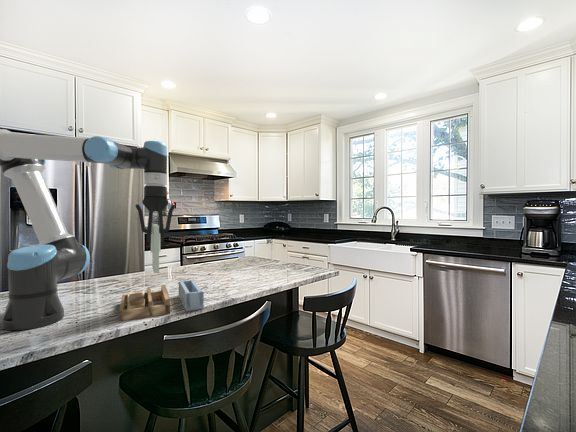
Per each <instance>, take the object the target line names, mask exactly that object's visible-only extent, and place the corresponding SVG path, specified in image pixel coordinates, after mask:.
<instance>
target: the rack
mask: <svg viewBox="0 0 576 432" xmlns="http://www.w3.org/2000/svg"><path fill="white" fill-rule="evenodd" d="M128 295H129V293H128V294H122V295H121V299H120V303H119V305H120V306H119V311H118V314H119V317H118V318H119V319H118V320H119V321H120V322H121V321H127V320H135V319H141V318H149V317H155V316H163V315H168V314H169V315H170V314H171V297H170V295H169V292H168V288H167V287H166V285H161V286H160V290H156V291H151V286H147V287H146V291H145V302H147V306H145V307H141V308H134V309H127V308H125V307H126V304H127V296H128ZM156 300H161V302H162V304H157V305H153V301H156Z"/></svg>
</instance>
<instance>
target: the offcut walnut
mask: <svg viewBox="0 0 576 432" xmlns="http://www.w3.org/2000/svg"><path fill="white" fill-rule="evenodd" d="M128 294H129V293H128ZM129 302H130V305H131V306H132V305H138V304H144V295H143V293H135V294H129Z"/></svg>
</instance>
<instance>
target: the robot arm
mask: <svg viewBox="0 0 576 432" xmlns="http://www.w3.org/2000/svg"><path fill="white" fill-rule="evenodd" d="M167 150H168V148H167V144H165V143H164V142H163V141H158V140H146V141H144V142H143V147H133V146H132V147H131V146H126V145H124V144H122V143H121V144H120V143H119V142H117V141H113V140H111V139H109V138H107V137H103V136H98V135H97V136H92V137H78V136H77V137H76V136H59V135H48V134H47V135H46V134H34V133H33V134H31V133H30V134H29V133H15V132H11V130H8V129H5V128H0V170H1V171H2V174H3V176H4V177H6V178H9V179H11V180H12V183H13V185H14V187H15V189H16V191H17V194H18V196H19V198H20V201H21V203H22V205H23V207H24V211H25V212H26V214H27V217H28V219H29V221H30V223H31V226H32V228H33V231H34V233H35V236H36V237H37V239H38V242H39V243H38V244H35V245H31V246H30V245H29V246H23V247H20V248H16V249H13V250H12V251H11V252H10V253H9V254H8V257H7V264H6V267H7V282H8V285H7V286H8V302H7V305H6V306H5V310H4V313H3V315H2V318H1V329H3V330H5V331H22V330H30V329H36V328H40V327H44V326H49V325H51V324H53V323H56V322H58V321H61V320H63V318H64V317H65V308H64V307H63V304H62V302H61V299H60V297H59V295H58V281H59V282H60V281H62V280H65V279H68V278H73V277H76V276H78V275H80V274H81V273H83V272H84V271H85V270H86V269H87V268H88V266H89V264H90V261H91V256H90V251H89V250H88V248H87V247H86V246H85V245H83V244H81V243H78V240H77V238H76V236H75V235H74V234H70V233H69V232H68V230H67V228H66V225H65V223H64V221H63V219H62V216H61V214H60V212H59V209H58V207H57V204H56V202H55V200H54V197H53V196H52V193H51V191H50V189H49V186H48V184H47V182H46V179H45V177H44V175H43V173H44V171H45V170H46V167H45V164H46V160H47V161H62V162H63V161H64V162H78V163H79V162H80V163H92V164H107V165H109V167H111V168H112V169H117V170H119V169H120V170H131V169H132V170H133V169H135V170H136V169H139V170H140V169H141V170H143V184H144V185H145V186H144V187H143V199H142V202H140V203H137V204H135V208H136V209H137V212H138V218H139V222H140V229H141V232H142V233H145V234H146V235H147V236H146V241H147V243H148V244H149V243H150V253H152V252H153V233H152V224H153V215H154V213H155V212H157V214H158V215H157V216H158V226H159V253H161V243H164V241H165V233H167V232H170V228H171V221H172V218H173V212H174V210H175V208H176V206H175V205H174V204H171V203H170V202H169V200H168V188H167V185H168V151H167ZM144 207H145V208H146V210H147V211H148V219H147V220H148V221H147V228H146V226H145V225H146V224H145V221H144V220H145V219H144V214H143V213H144V212H143V208H144ZM166 207H167V210H168V212H167V217H166V223H165V228H164V217H163V211H164V210H165V209H166Z"/></svg>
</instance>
